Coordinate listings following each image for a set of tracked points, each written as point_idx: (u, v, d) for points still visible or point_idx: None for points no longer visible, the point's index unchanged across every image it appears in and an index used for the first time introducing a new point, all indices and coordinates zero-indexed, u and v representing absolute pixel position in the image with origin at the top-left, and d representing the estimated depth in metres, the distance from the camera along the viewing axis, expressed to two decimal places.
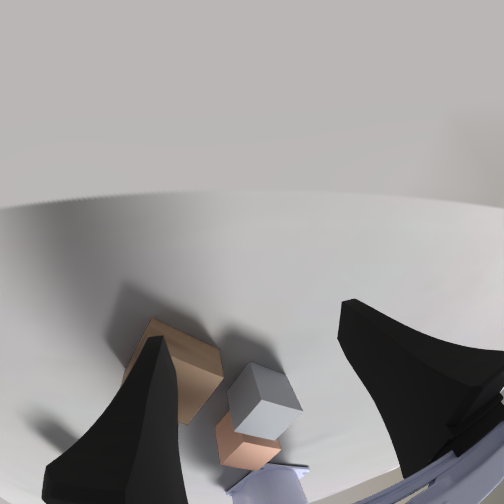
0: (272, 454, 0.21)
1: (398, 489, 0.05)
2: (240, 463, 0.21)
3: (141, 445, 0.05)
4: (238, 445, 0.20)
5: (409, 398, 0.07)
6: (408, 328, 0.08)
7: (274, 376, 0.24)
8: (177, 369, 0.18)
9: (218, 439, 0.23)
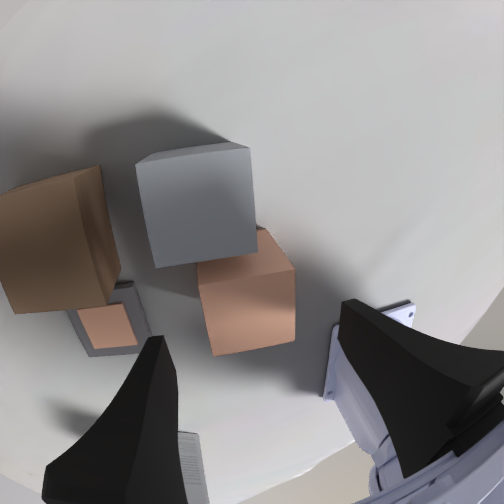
0: (287, 289, 0.12)
1: (398, 489, 0.05)
2: (244, 338, 0.13)
3: (141, 445, 0.05)
4: (201, 299, 0.12)
5: (409, 398, 0.07)
6: (408, 328, 0.08)
7: (199, 146, 0.13)
8: (19, 212, 0.10)
9: None
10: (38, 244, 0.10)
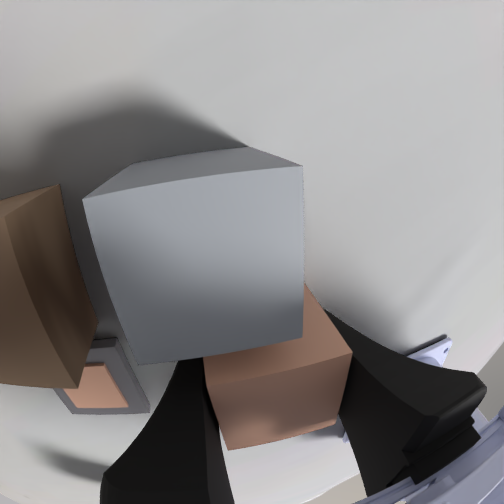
0: (337, 376, 0.08)
1: (398, 489, 0.05)
2: (271, 432, 0.08)
3: (206, 440, 0.05)
4: (211, 397, 0.07)
5: (368, 416, 0.07)
6: (371, 341, 0.08)
7: (202, 154, 0.08)
8: None
9: None
10: None
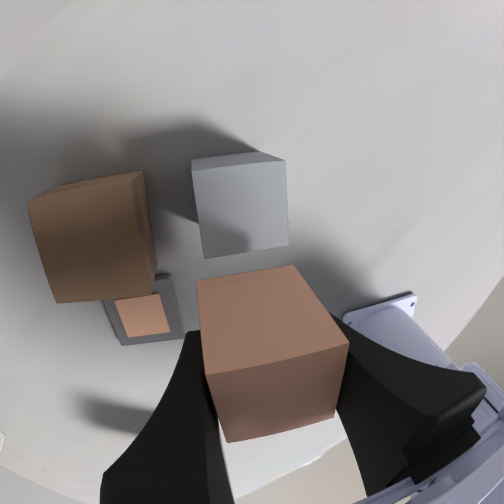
0: (334, 367, 0.08)
1: (398, 489, 0.05)
2: (270, 424, 0.09)
3: (206, 440, 0.05)
4: (210, 387, 0.08)
5: (367, 416, 0.07)
6: (371, 341, 0.08)
7: (234, 155, 0.15)
8: (72, 209, 0.12)
9: None
10: (90, 239, 0.13)
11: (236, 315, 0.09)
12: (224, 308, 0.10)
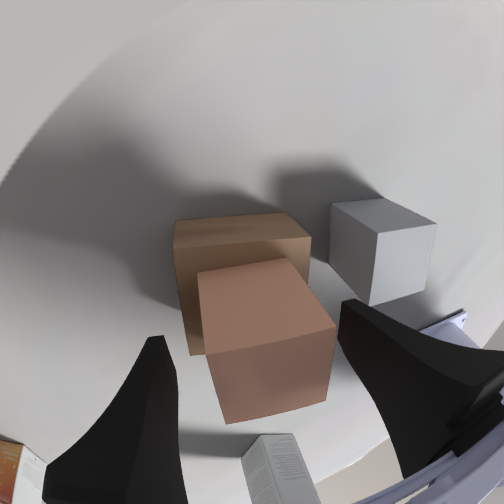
0: (323, 350, 0.09)
1: (398, 489, 0.05)
2: (266, 405, 0.10)
3: (141, 445, 0.05)
4: (209, 367, 0.08)
5: (409, 398, 0.07)
6: (408, 328, 0.08)
7: (372, 203, 0.16)
8: (239, 261, 0.13)
9: None
10: None
11: (234, 303, 0.10)
12: (223, 297, 0.11)
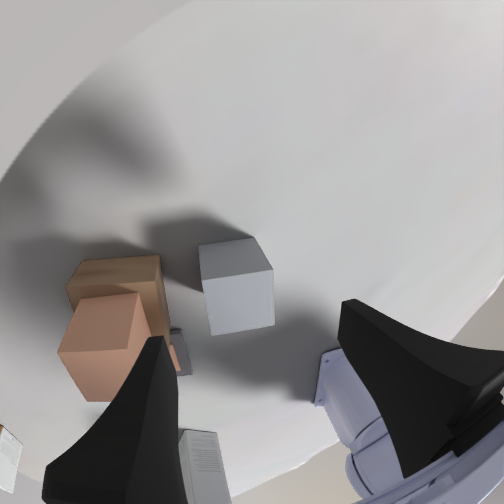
0: (125, 362, 0.12)
1: (398, 489, 0.05)
2: (105, 393, 0.13)
3: (141, 445, 0.05)
4: (64, 361, 0.12)
5: (409, 398, 0.07)
6: (408, 328, 0.08)
7: (233, 245, 0.20)
8: None
9: None
10: None
11: (86, 323, 0.14)
12: (83, 318, 0.14)
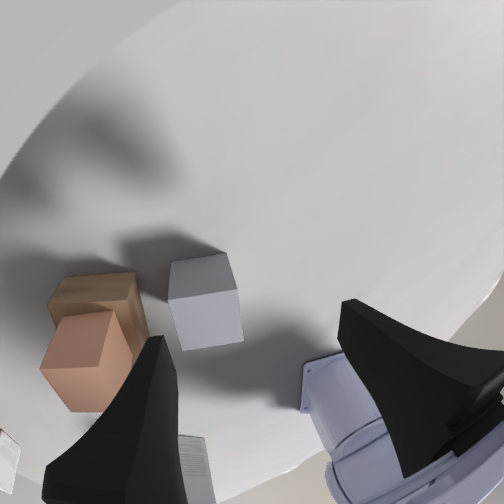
0: (99, 378, 0.13)
1: (398, 489, 0.05)
2: (86, 404, 0.13)
3: (141, 445, 0.05)
4: (47, 376, 0.12)
5: (409, 398, 0.07)
6: (408, 328, 0.08)
7: (204, 262, 0.20)
8: (84, 313, 0.16)
9: None
10: None
11: (65, 341, 0.14)
12: (63, 336, 0.14)
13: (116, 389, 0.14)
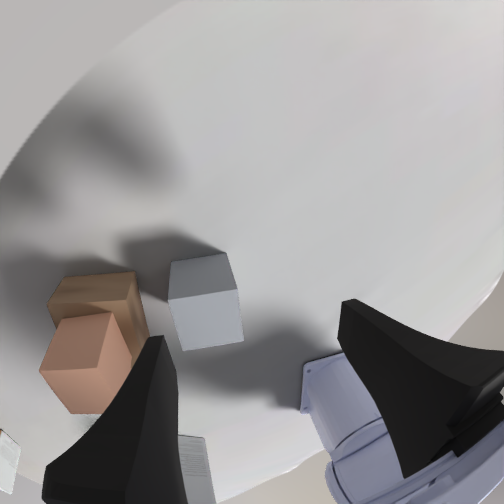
0: (97, 379, 0.13)
1: (398, 489, 0.05)
2: (85, 406, 0.13)
3: (141, 445, 0.05)
4: (46, 378, 0.12)
5: (409, 398, 0.07)
6: (408, 328, 0.08)
7: (204, 262, 0.20)
8: (84, 313, 0.16)
9: None
10: None
11: (64, 343, 0.14)
12: (62, 338, 0.14)
13: (115, 390, 0.14)
